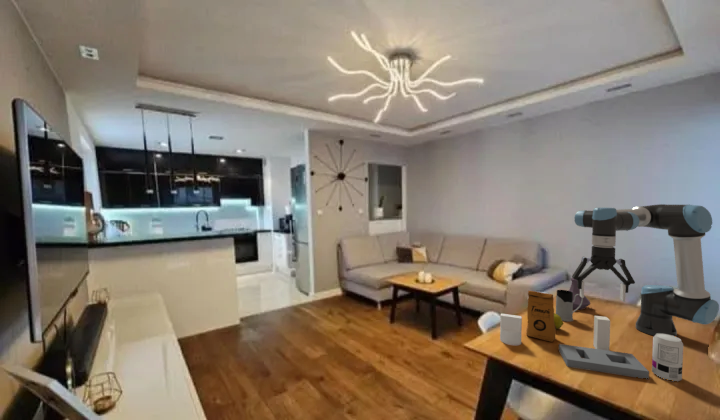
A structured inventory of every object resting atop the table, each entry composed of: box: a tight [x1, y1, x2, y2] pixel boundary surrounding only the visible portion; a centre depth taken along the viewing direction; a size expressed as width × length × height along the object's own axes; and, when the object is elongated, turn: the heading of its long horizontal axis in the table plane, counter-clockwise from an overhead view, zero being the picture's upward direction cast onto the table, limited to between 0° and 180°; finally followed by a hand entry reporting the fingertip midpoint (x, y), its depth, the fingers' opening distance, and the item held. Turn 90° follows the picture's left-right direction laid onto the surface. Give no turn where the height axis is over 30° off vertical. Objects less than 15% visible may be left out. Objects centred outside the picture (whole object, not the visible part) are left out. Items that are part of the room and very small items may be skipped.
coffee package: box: [525, 290, 557, 343], centre depth 152 cm, size 10×12×22 cm
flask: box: [567, 277, 591, 311], centre depth 193 cm, size 16×16×20 cm
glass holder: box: [555, 289, 583, 322], centre depth 176 cm, size 9×14×15 cm, turn 88°
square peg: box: [593, 315, 611, 351], centre depth 141 cm, size 4×4×14 cm
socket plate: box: [558, 343, 650, 380], centre depth 129 cm, size 26×14×3 cm, turn 70°
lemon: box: [554, 312, 564, 330], centre depth 163 cm, size 11×8×8 cm
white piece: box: [499, 313, 523, 346], centre depth 149 cm, size 9×9×12 cm
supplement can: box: [651, 333, 684, 382], centre depth 119 cm, size 8×8×15 cm
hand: (601, 298), depth 127 cm, fingers open, 13 cm apart
